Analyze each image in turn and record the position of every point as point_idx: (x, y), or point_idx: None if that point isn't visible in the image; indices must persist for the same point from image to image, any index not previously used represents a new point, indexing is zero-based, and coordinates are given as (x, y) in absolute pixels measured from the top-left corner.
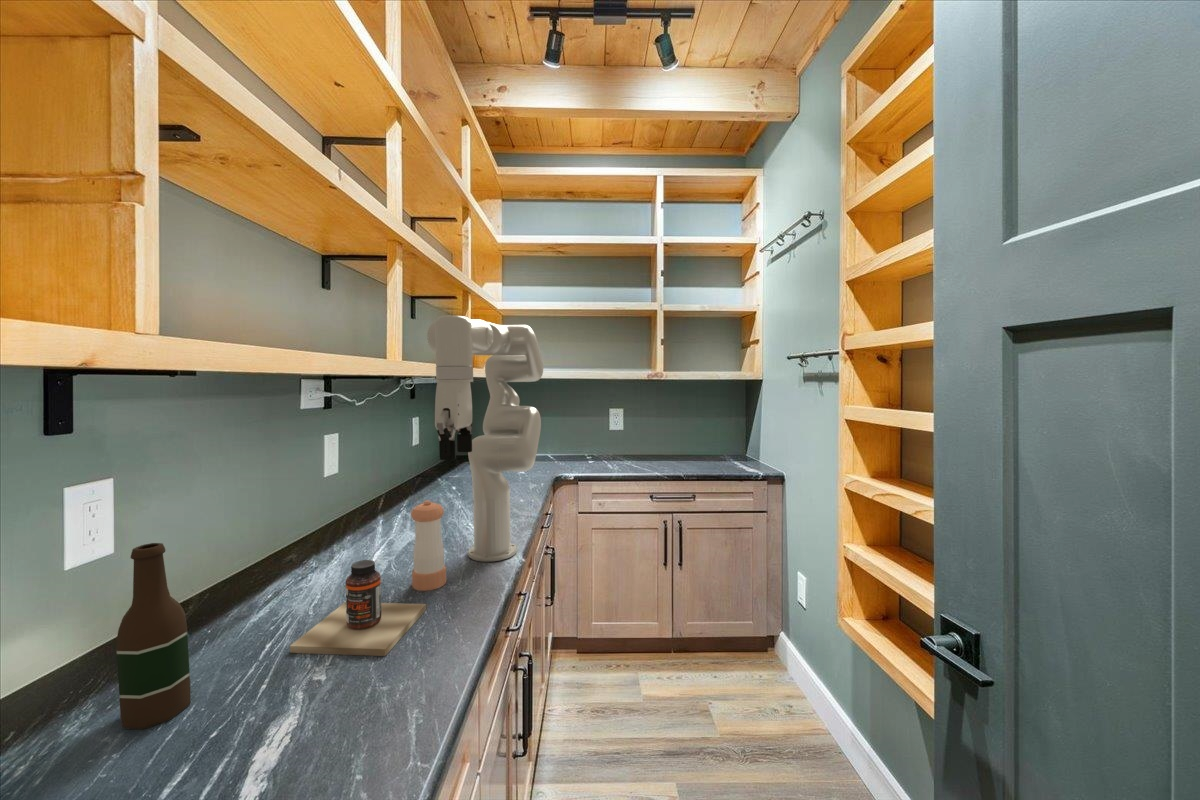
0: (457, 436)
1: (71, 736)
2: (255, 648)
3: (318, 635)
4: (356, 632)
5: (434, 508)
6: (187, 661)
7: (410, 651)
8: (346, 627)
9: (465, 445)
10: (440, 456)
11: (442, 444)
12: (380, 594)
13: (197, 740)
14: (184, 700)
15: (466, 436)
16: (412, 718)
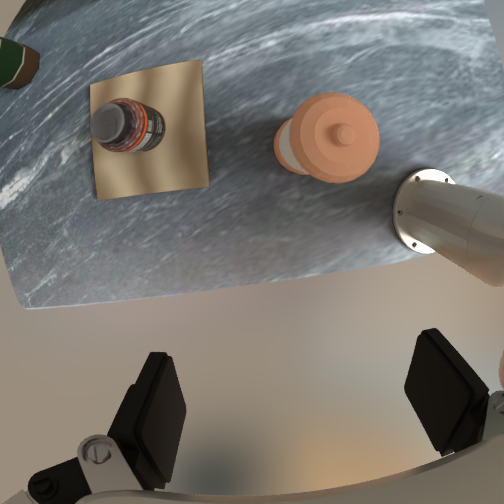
0: (463, 391)
1: None
2: (101, 43)
3: (111, 96)
4: None
5: (322, 167)
6: (4, 79)
7: (115, 222)
8: None
9: (423, 391)
10: (147, 363)
11: (111, 430)
12: (138, 149)
13: (6, 132)
14: (21, 84)
15: (443, 433)
16: (48, 277)
